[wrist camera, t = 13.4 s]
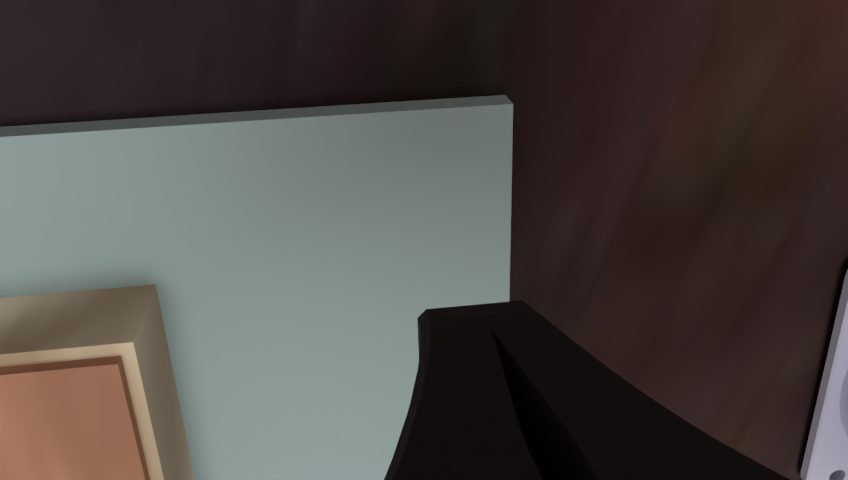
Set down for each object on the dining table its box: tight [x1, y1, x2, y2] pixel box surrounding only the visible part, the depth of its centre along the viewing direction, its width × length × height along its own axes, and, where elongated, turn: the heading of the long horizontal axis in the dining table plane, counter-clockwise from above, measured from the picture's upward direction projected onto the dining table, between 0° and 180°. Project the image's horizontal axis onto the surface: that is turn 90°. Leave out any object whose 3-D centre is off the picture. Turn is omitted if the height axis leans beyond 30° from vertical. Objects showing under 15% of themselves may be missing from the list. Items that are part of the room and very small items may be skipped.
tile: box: [0, 285, 195, 480], centre depth 18 cm, size 3×7×7 cm
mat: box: [0, 95, 513, 480], centre depth 20 cm, size 17×14×1 cm
